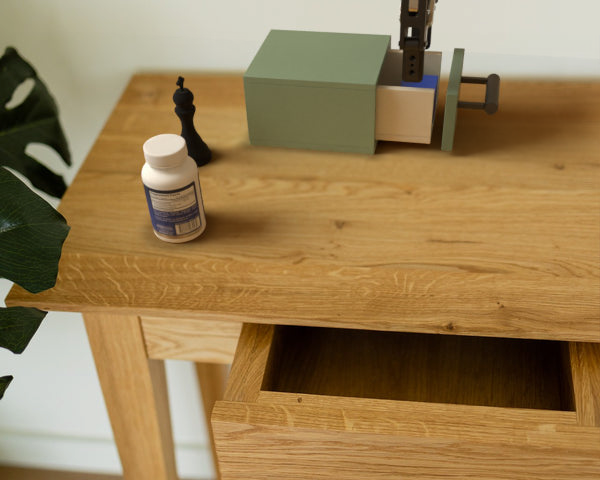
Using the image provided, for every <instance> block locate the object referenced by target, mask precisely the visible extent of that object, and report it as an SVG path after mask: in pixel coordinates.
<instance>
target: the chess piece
mask: <svg viewBox="0 0 600 480" xmlns="http://www.w3.org/2000/svg"><path fill="white" fill-rule="evenodd" d="M184 83H185V77H183V76H182V75H179V76H178V78H177V81H176V82H175V85H176V86H177V87H178V88H177V89H175V91H174V92H173V94H172V101H173V103H174V105H175V107H174V113H175V115H176V116H177V118H178V119H179V121H180V125H181V130H180V131H181V132H180V136H181V137H183V138H184V140H185V142H186V146H187V151H188V156H190V157H191V158H192V159H193V160H194V161H195V163H196V165H197V168H199V167H203V166H205V165H206V164H208V163H209V162H210V161H211V160H212V158H213V153H212V151H211V149H210V148H209V146H208V144H207V143H206V142H205V141H204V140H203V139H202V137H201V135H200V134H199V132H198V131H197V129H196V126H195V124H194V118H195V114H196V111H197V108H196V105H195V104H194V100H195V95H194V93H193V92H192V90H190V89H189V88H188V87H185V86H184V85H185V84H184Z"/></svg>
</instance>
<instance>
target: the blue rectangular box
mask: <svg viewBox="0 0 600 480" xmlns="http://www.w3.org/2000/svg"><path fill="white" fill-rule="evenodd" d="M437 86H438V76H434V75H423V80H422V81H421V82H419V83H414V82H404V81H403V80H402V81H401V85H400V87H415V88H431V89H435V95H434V107H433V119H432V124H433V120H434V114H435V109H436V98H437ZM436 110H437V109H436ZM434 121H435V120H434Z"/></svg>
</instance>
